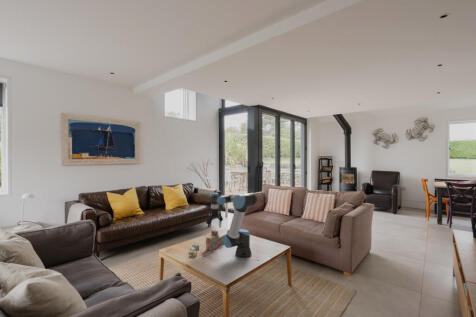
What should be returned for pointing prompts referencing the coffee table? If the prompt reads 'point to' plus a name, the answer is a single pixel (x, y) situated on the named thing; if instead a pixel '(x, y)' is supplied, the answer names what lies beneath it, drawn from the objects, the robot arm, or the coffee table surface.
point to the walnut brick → (214, 233)
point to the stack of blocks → (214, 241)
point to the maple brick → (193, 253)
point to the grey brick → (196, 246)
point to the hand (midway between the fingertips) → (214, 229)
